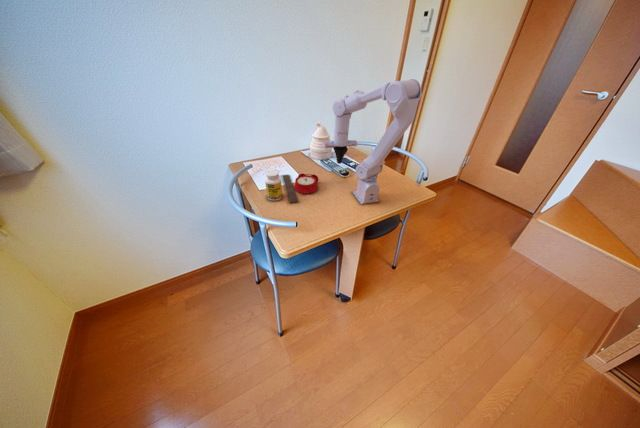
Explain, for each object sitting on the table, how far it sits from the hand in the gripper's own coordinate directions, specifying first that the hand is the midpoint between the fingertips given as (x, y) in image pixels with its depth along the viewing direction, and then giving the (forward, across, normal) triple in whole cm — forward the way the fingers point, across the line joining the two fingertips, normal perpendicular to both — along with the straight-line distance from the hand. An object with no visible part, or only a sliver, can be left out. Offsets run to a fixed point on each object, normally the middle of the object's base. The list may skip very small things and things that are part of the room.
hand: (339, 162), depth 98 cm
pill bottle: (+10, +30, +7) cm, 32 cm away
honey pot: (+10, -1, -33) cm, 34 cm away
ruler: (+9, +23, +1) cm, 25 cm away
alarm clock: (+10, +15, +1) cm, 18 cm away
